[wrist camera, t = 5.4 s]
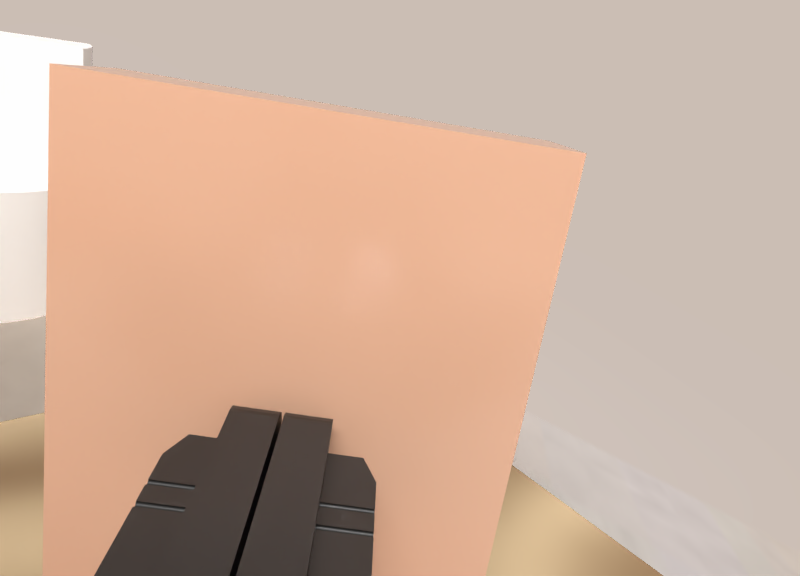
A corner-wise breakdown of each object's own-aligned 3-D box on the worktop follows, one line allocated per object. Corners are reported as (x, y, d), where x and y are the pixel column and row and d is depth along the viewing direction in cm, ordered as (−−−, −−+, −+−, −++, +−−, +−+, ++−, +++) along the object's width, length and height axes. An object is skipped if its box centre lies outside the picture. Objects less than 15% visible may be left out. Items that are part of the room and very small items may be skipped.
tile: (428, 809, 12) (585, 153, 9) (39, 769, 12) (49, 63, 8) (422, 689, 15) (544, 139, 11) (99, 652, 14) (126, 68, 11)
